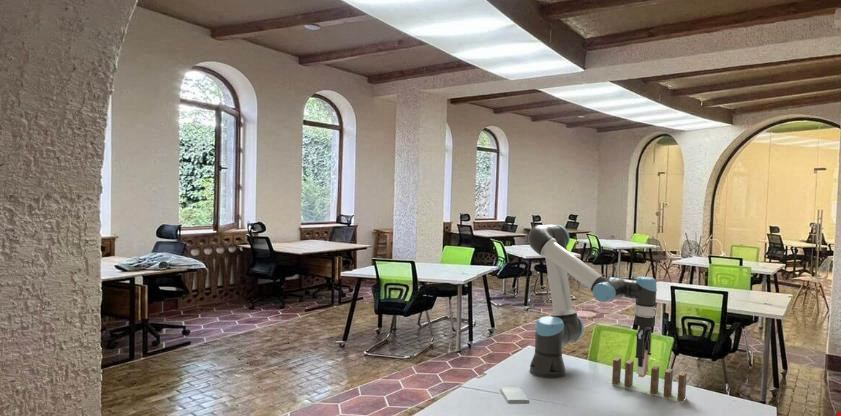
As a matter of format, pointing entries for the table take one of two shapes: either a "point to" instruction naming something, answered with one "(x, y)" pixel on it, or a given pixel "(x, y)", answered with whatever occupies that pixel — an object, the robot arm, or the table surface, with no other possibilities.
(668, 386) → the domino
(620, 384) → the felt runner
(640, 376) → the domino
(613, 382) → the domino
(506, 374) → the table surface
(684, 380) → the domino
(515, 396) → the hard drive
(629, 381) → the domino
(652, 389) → the domino
